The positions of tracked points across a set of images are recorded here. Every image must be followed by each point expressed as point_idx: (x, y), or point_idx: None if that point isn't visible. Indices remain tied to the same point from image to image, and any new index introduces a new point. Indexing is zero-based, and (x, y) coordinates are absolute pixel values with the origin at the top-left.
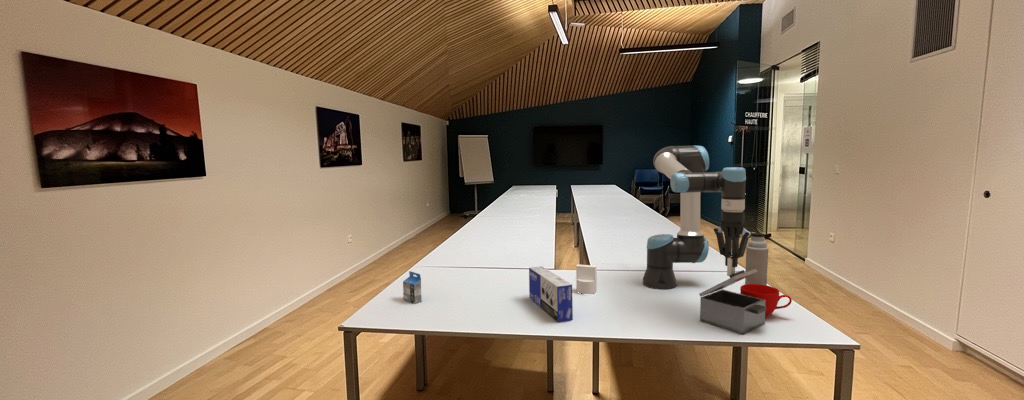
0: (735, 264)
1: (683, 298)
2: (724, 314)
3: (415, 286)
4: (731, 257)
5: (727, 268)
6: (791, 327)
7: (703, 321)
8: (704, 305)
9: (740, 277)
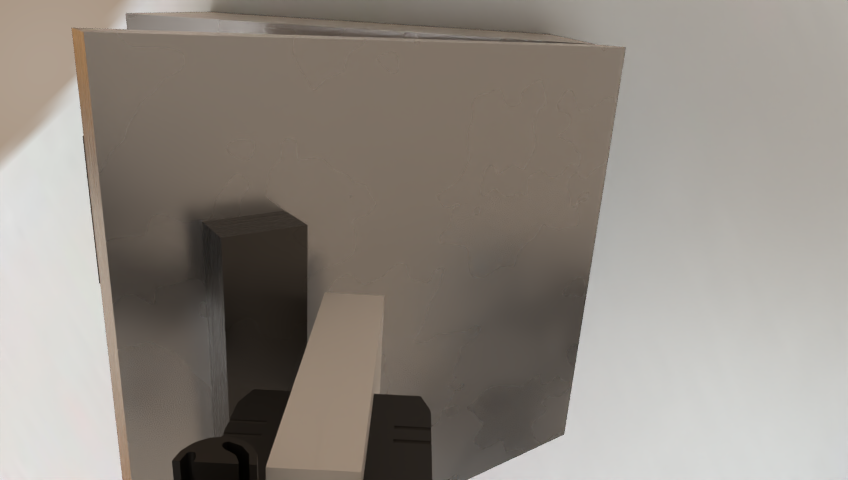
0: (229, 422)
1: (833, 379)
2: (340, 23)
3: None
4: (235, 460)
5: (372, 347)
6: (99, 362)
7: (520, 32)
8: (535, 37)
9: (89, 178)
